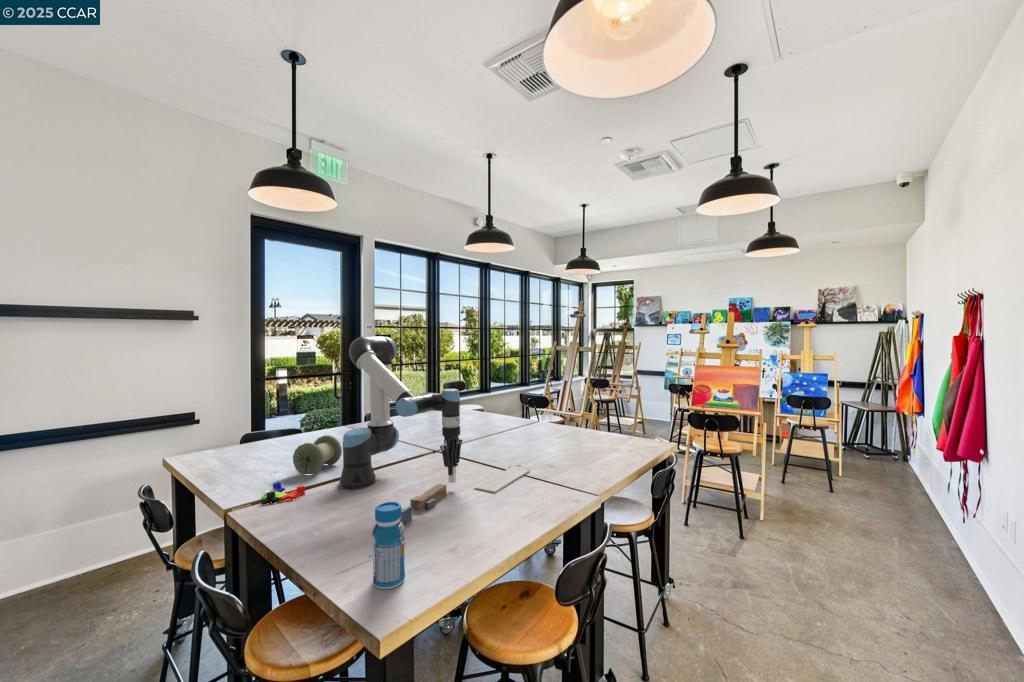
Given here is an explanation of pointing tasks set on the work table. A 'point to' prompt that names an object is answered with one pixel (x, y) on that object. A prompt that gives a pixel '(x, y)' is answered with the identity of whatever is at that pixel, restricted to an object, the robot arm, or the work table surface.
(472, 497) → the work table surface
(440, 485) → the brown wooden bar
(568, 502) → the work table surface
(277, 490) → the building blocks
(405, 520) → the end cap
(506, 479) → the baseboard
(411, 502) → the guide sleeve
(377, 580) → the beverage bottle
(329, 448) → the spool
